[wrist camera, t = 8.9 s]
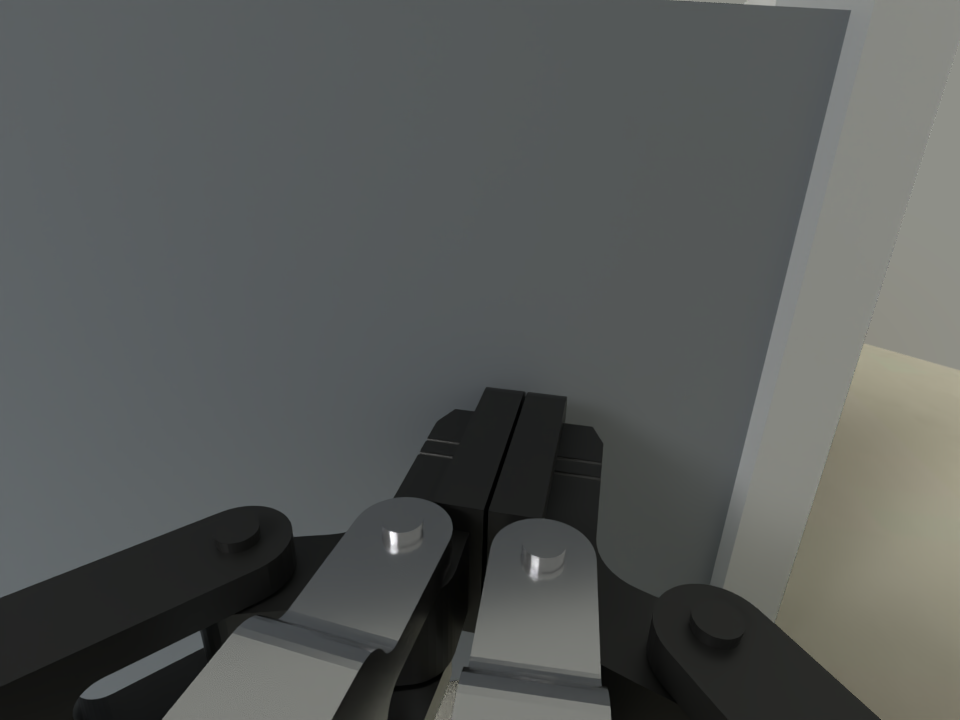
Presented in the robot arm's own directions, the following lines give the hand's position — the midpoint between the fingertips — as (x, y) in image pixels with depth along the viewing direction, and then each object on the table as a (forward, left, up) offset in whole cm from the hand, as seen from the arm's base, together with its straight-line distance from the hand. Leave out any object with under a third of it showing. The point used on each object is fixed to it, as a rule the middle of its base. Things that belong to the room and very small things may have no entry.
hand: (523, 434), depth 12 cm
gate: (0, -2, -7) cm, 7 cm away
